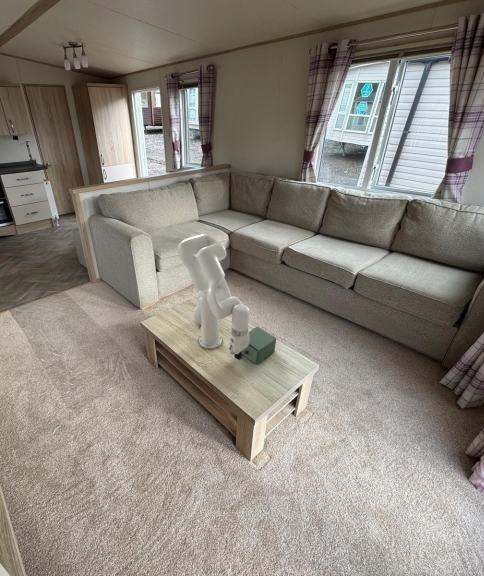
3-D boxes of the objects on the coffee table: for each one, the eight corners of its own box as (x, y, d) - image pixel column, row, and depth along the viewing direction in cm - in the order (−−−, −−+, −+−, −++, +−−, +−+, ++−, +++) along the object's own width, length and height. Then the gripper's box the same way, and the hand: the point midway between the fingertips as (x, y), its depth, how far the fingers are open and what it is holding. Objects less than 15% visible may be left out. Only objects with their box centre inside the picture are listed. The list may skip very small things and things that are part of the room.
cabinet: (257, 364, 150) (259, 350, 145) (239, 350, 159) (239, 337, 154) (274, 351, 157) (276, 338, 153) (256, 339, 166) (257, 326, 161)
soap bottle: (209, 311, 189) (209, 270, 174) (222, 319, 182) (223, 277, 166) (189, 322, 181) (186, 280, 165) (201, 331, 173) (200, 288, 157)
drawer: (253, 364, 149) (254, 353, 145) (236, 352, 156) (237, 341, 153) (271, 351, 156) (272, 340, 152) (254, 340, 164) (255, 330, 160)
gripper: (234, 341, 132) (233, 370, 142) (256, 326, 140) (253, 354, 150) (222, 332, 137) (221, 361, 147) (244, 318, 145) (241, 347, 155)
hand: (237, 358), depth 148 cm, fingers closed
